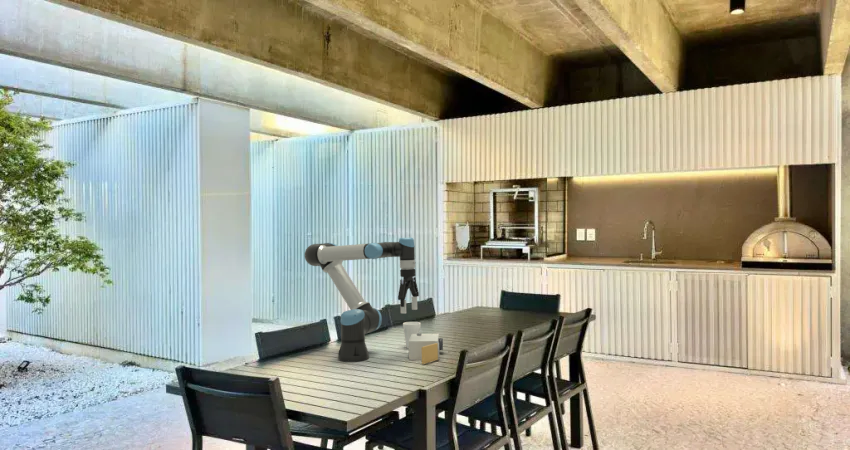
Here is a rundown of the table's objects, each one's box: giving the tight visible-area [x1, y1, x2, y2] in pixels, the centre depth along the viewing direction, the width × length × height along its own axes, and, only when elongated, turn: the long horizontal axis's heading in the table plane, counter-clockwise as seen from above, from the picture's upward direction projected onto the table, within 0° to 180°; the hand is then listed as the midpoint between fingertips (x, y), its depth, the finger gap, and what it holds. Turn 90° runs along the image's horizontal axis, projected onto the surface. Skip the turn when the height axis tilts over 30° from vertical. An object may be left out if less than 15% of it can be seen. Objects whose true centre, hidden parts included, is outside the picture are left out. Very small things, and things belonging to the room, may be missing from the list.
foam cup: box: [402, 321, 422, 350], centre depth 320 cm, size 10×9×13 cm
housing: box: [408, 332, 444, 361], centre depth 299 cm, size 20×16×10 cm
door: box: [421, 343, 440, 365], centre depth 284 cm, size 1×13×8 cm, turn 142°
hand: (409, 311), depth 297 cm, fingers open, 13 cm apart
